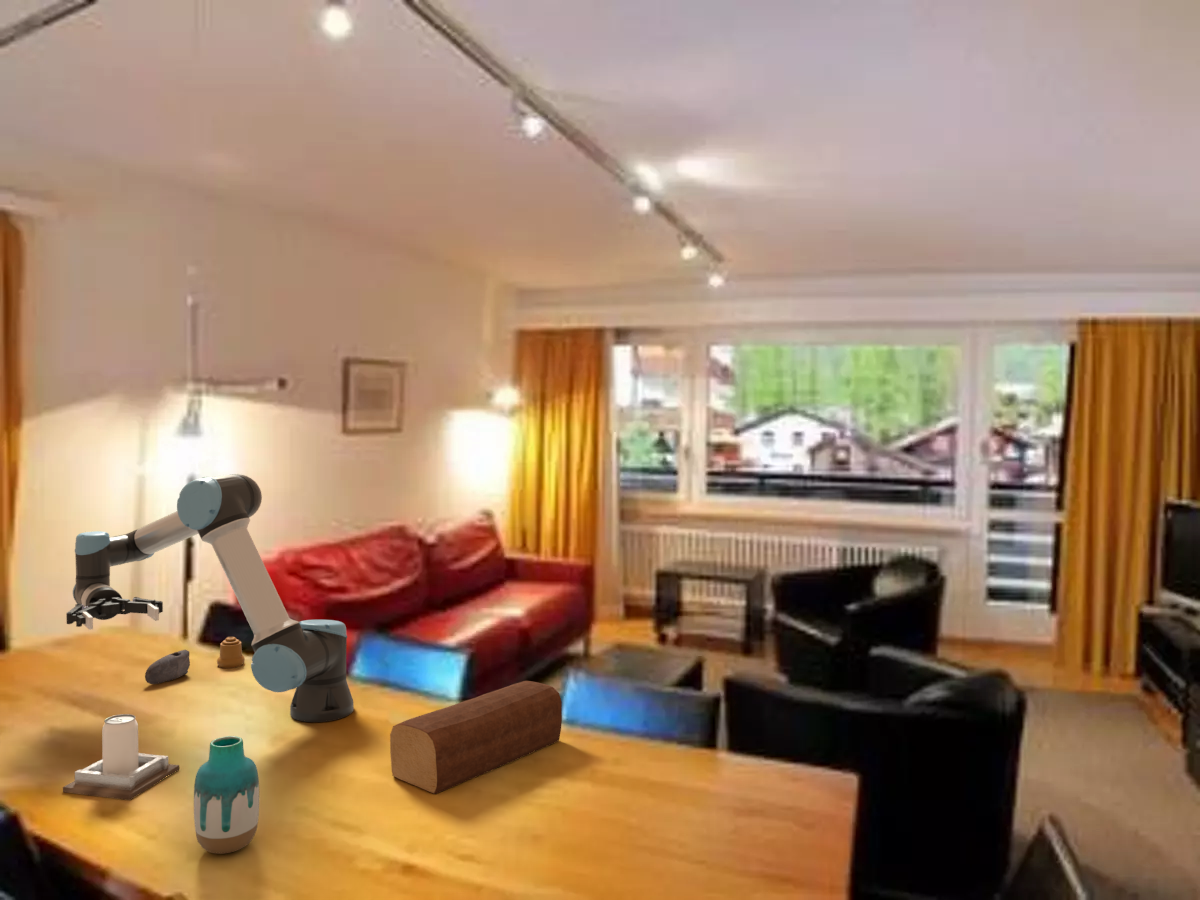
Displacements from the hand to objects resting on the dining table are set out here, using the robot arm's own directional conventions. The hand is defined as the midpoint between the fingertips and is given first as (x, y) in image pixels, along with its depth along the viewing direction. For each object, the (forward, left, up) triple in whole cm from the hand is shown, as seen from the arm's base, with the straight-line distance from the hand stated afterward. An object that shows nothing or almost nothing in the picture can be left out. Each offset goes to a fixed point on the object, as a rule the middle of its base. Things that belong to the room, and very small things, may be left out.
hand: (124, 619), depth 209 cm
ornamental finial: (+12, -58, -28) cm, 66 cm away
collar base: (-14, +19, -28) cm, 37 cm away
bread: (-81, -10, -28) cm, 86 cm away
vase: (-51, +39, -28) cm, 70 cm away
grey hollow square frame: (-14, +19, -28) cm, 37 cm away
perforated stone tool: (+20, -41, -28) cm, 53 cm away
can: (-14, +19, -27) cm, 36 cm away
